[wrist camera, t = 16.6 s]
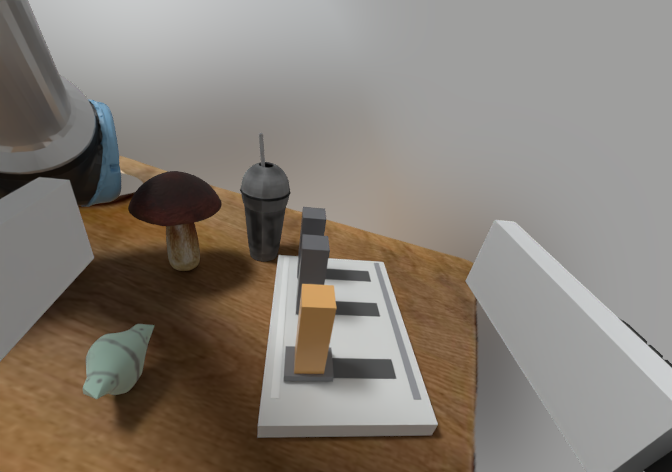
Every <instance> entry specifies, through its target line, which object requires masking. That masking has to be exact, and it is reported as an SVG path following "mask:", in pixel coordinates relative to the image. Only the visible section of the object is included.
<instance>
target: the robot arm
mask: <svg viewBox="0 0 672 472" xmlns="http://www.w3.org/2000/svg"><path fill="white" fill-rule="evenodd" d="M120 192H121V172H120V166H119V151H118V144H117V137H116V131H115V126H114V121H113V117H112V113H111V111H110V109H109V107H108V106H107V105H106V104H104V103H101V102H95V101H94V100H88V99H87V97H86V96H85V95H84V94H83V92H82V91H81V90H80V89H79V88H78V87H77V86H75V85H74V84H73V83H72V82H70V81H69V80H68V79H66V78H65V77H63V76H61V75H60V74H59V73H58V71H57V69H56V67H55V64H54V61H53V59H52V56H51V54H50V52H49V49H48V47H47V45H46V42H45V40H44V38H43V35H42V33H41V30H40V28H39V26H38V23H37V21H36V18H35V16H34V14H33V11H32V9H31V7H30V4H29V2H28V0H0V361H1V360H2V359H3V358H4V357H5V356H6V354H7V353H8V352H9V351H10V350H11V349H12V348H13V347H14V346H15V345H16V343H17V342H18V341H19V340H20V339H21V338H22V337H23V336H24V335H25V334H26V332H27V331H28V330H29V329H30V328H31V327H32V326H33V325H34V324H35V323H36V321H37V320H38V319H39V318H40V317H41V316H42V315H43V314H44V313H45V312H46V310H47V309H48V308H49V307H50V306H51V305H52V304H53V303H54V302H55V301H56V299H57V298H58V297H59V296H60V295H61V294H62V293H63V292H64V291H65V290H66V288H67V287H68V286H69V285H70V284H71V283H72V282H73V281H74V280H75V279H76V278H77V276H78V275H79V274H80V273H81V272H82V271H83V270H84V269H85V268H86V267H87V265H88V264H89V263H90V262H91V261H92V260H93V259H94V256H93V253H92V249H91V246H90V243H89V240H88V237H87V234H86V231H85V227H84V224H83V221H82V218H81V215H80V212H79V208H78V206H80V205H81V206H91V205H93V204H97V203H104V202H110V201H113V200H115V199H116V198H117V197H118V196H119V195H120ZM466 283H467V284H468V286H469V287H470V289H471V290H472V292H473V294H474V295H475V297H476V298H477V300H478V302H479V303H480V305H481V306H482V308H483V309H484V311H485V312H486V314H487V315H488V317H489V319H490V321H491V322H492V323H493V325H494V327H495V329H496V330H497V332H498V333H499V335H500V336H501V338H502V340H503V341H504V343H505V344H506V346H507V347H508V349H509V351H510V352H511V354H512V355H513V357H514V359H515V360H516V362H517V363H518V365H519V367H520V368H521V370H522V371H523V373H524V375H525V376H526V377H527V379H528V381H529V382H530V384H531V386H532V387H533V389H534V390H535V392H536V394H537V395H538V397H539V398H540V400H541V401H542V403H543V404H544V406H545V408H546V409H547V411H548V412H549V414H550V416H551V417H552V419H553V420H554V422H555V424H556V425H557V427H558V428H559V430H560V431H561V433H562V435H563V436H564V438H565V439H566V441H567V443H568V444H569V446H570V447H571V449H572V451H573V452H574V454H575V455H576V457H577V459H578V460H579V461H580V463H581V465H582V466H583V468H584V470H585V471H586V472H643V471H645V472H672V364H671V363H670V362H669V361H668V360H664V359H663V358H662V357H663V356H662V355H661V354H660V353H659V352H658V351H657V350H656V349H655V348H653V347H652V346H651V345H647V341H646V340H645V339H644V338H643V337H642V336H640V335H639V334H638V333H637V332H636V331H635V330H634V329H633V328H632V327H631V326H630V325H628V324H627V323H626V322H624V321H622V320H621V319H619V318H618V317H617V316H616V315H614V314H613V313H612V312H611V311H610V310H609V309H608V308H607V307H606V306H605V305H604V304H603V303H602V302H601V301H599V300H598V299H597V298H596V297H595V296H594V295H593V294H592V293H591V292H590V291H589V290H588V289H587V288H585V287H584V286H583V285H582V284H581V283H580V282H579V281H578V280H577V279H576V278H575V277H574V276H573V275H571V274H570V273H569V272H568V271H567V270H566V269H565V268H564V267H563V266H562V265H561V264H560V263H559V262H557V260H555V259H554V258H553V257H552V256H551V255H550V254H549V253H548V252H547V251H546V250H545V249H544V248H542V247H541V246H540V245H539V244H538V243H537V242H536V241H535V240H534V239H533V238H532V237H531V236H530V235H529V234H527V233H526V232H525V231H524V230H523V229H522V228H521V227H520V226H519V225H518V224H517V223H516V222H513V221H502V220H494V222H493V224H492V226H491V229H490V231H489V233H488V235H487V237H486V239H485V241H484V243H483V245H482V247H481V250H480V252H479V254H478V256H477V258H476V260H475V262H474V264H473V267H472V269H471V271H470V273H469V275H468V277H467V279H466Z"/></svg>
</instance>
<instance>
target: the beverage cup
mask: <svg viewBox="0 0 672 472" xmlns="http://www.w3.org/2000/svg"><path fill="white" fill-rule="evenodd" d="M259 142H260V156H261V163H257V164H255V165H253V166H252V167H251V168H249V169H248V170H247V172H246V173H245V175H244V177H243V180H242V186H241V189H240V191H241V193H242V199H243V203H244V206H245V215H246V225H247V234H248V243H249V249H250V255H251V257H252V258H253V259H255V260H257V261H271V260H273V259H275V258H276V257H277V255H278V249H279V246H280V239H281V233H282V227H283V221H284V214H285V208H286V205H287V202H288V198H289V195H290V188H289V182H288V179H287V176H286V174H285V173H284V171H283V170H282V169H281V168H280V167H278V166H277V165H275V164H273V163H269V162H265V158H264V144H263V133H259Z"/></svg>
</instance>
